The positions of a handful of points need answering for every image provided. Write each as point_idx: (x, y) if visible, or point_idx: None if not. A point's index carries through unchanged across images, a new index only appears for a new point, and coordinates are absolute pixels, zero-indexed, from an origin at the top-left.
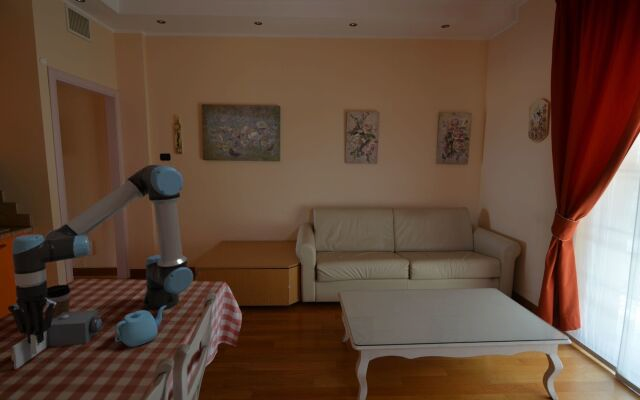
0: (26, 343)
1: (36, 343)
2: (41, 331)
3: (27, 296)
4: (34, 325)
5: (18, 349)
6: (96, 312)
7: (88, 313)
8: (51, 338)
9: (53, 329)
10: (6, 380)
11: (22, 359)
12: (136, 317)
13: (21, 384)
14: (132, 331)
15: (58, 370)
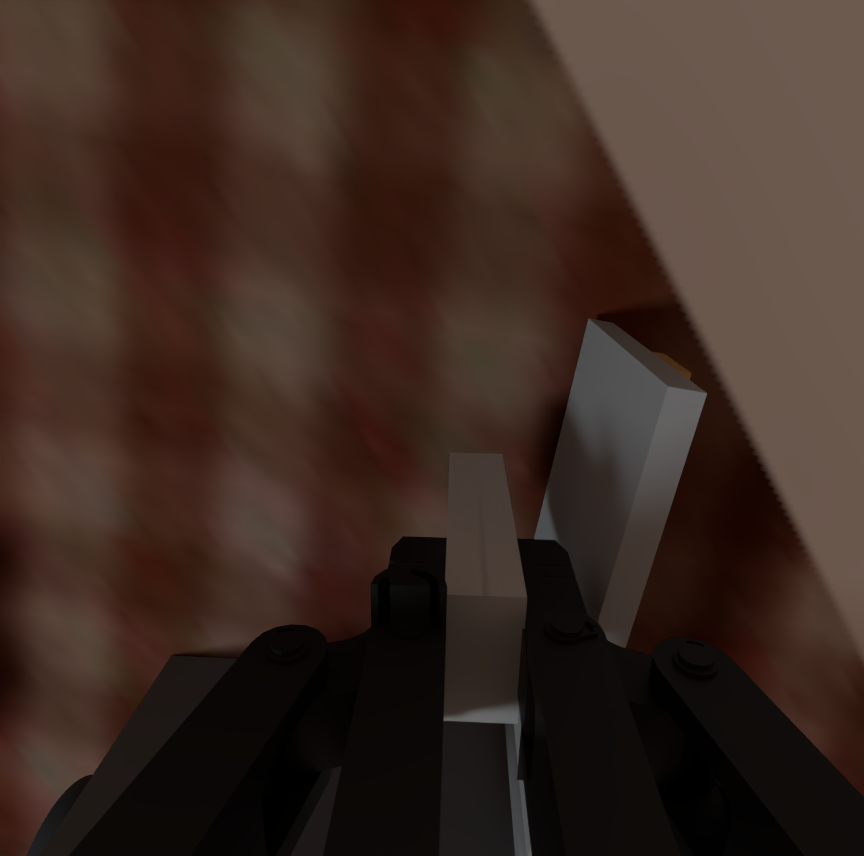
0: (593, 551)
1: (447, 521)
2: (355, 654)
3: None
4: (532, 816)
5: (627, 420)
6: None
7: None
8: (472, 734)
9: (441, 830)
10: (587, 127)
11: (579, 408)
12: None
13: (381, 14)
14: None
15: (149, 229)
